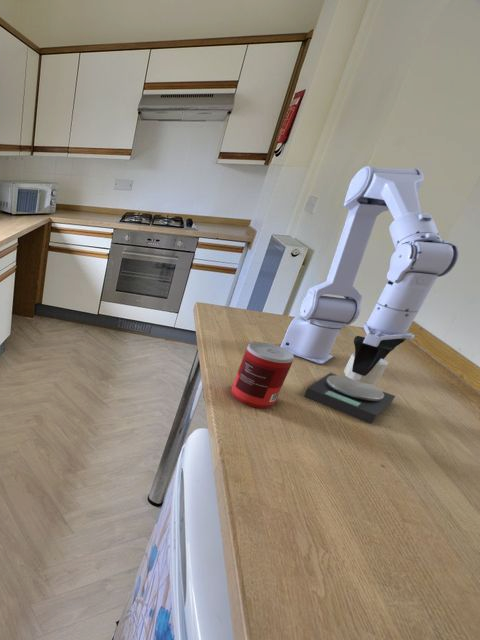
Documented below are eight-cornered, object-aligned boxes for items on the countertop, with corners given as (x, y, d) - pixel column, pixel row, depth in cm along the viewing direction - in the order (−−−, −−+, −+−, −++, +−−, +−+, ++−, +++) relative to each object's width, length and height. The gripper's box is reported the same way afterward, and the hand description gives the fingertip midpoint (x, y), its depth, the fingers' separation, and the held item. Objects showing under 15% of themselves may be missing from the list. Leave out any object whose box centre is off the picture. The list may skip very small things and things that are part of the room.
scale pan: (319, 384, 85) (320, 382, 85) (334, 373, 90) (336, 371, 90) (375, 405, 79) (376, 403, 78) (388, 393, 83) (390, 390, 83)
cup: (338, 375, 84) (348, 356, 82) (347, 369, 87) (357, 350, 85) (372, 387, 80) (383, 367, 78) (380, 380, 83) (391, 361, 81)
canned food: (266, 392, 86) (286, 345, 82) (279, 412, 79) (301, 363, 75) (226, 384, 88) (243, 338, 84) (234, 404, 82) (254, 355, 77)
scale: (303, 396, 86) (308, 385, 85) (326, 380, 92) (331, 370, 91) (371, 423, 77) (377, 412, 76) (390, 404, 84) (396, 393, 83)
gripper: (416, 320, 70) (378, 388, 76) (436, 307, 77) (400, 369, 83) (364, 307, 75) (332, 372, 81) (387, 296, 83) (356, 355, 88)
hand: (363, 369), depth 82 cm, fingers closed on cup, 5 cm apart
